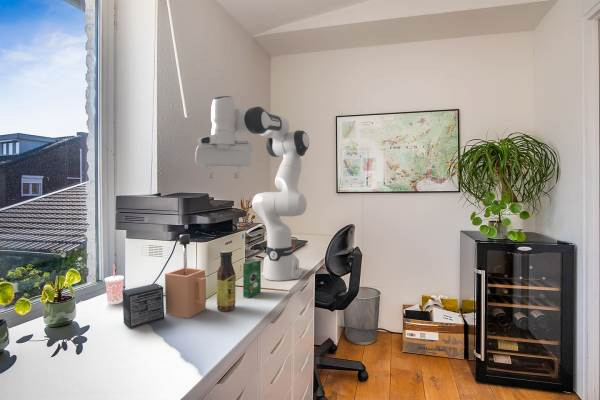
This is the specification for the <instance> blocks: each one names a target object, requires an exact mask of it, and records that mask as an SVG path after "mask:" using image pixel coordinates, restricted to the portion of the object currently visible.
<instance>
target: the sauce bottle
mask: <svg viewBox="0 0 600 400" xmlns="http://www.w3.org/2000/svg"><path fill="white" fill-rule="evenodd" d="M219 253H220V254H219V256H220V262H219V263H220V265H219V267H218V268H217V272H216V274H217V275H216V305H217V310H218V311H219V312H229V311H232V310H234V309H235V306H236V272H235V269H234V266H233V261H232V259H233V258H232V256H233V251H232V250H221V251H220V252H219Z"/></svg>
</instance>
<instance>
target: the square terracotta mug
mask: <svg viewBox="0 0 600 400" xmlns="http://www.w3.org/2000/svg"><path fill="white" fill-rule="evenodd" d="M164 284H165V285H164V286H165V287H164V293H165V296H164V297H165V315H168V316H172V317H173V316H174V317H178V318H183V319H189V318H192V317H193V316H194V315H197V314H198V313H201V312H203V311H204V310H206V309H207V306H206V304H207V278H206V269H200V268H193V267H187V276H184V267H181V268H179V269H175V270H172V271H170V272H166V273H164Z"/></svg>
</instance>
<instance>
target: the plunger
mask: <svg viewBox="0 0 600 400" xmlns="http://www.w3.org/2000/svg"><path fill="white" fill-rule="evenodd" d="M190 235H191V234H188V233H185V234H184V233H183V234H179V245H181V246H183V247H182V248H183V250H182V252H183V268H184V276H187V268H188V259H187V257H188V254H187V253H188V252H187V251H188V250H187V245H190V243H191V238H190V237H191V236H190Z"/></svg>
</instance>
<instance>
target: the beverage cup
mask: <svg viewBox="0 0 600 400" xmlns="http://www.w3.org/2000/svg"><path fill="white" fill-rule="evenodd" d="M112 270H113V273H112V274H113V275H111V276H108V277H105V278H104V283H105V289H106V297H107V304H108V305H118V304H120V303H123V294H122V291H123V289H124V279H125V277H124V275H116V265H115V263H113V264H112Z"/></svg>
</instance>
